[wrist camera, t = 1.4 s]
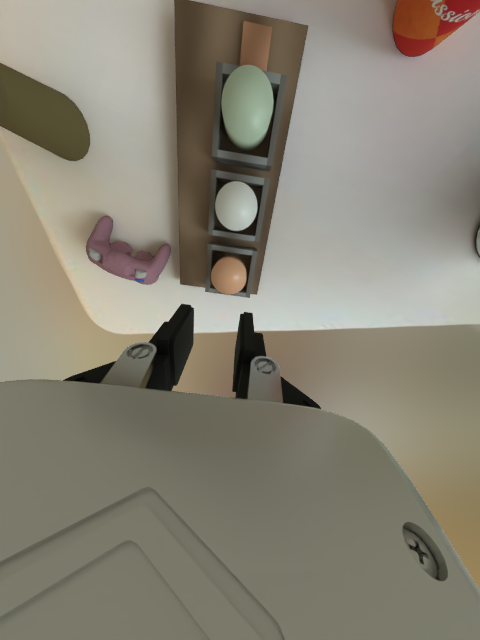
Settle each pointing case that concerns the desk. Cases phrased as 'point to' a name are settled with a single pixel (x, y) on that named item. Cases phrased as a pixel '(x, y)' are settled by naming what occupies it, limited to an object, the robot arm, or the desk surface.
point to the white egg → (236, 206)
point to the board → (212, 140)
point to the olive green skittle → (42, 115)
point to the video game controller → (124, 256)
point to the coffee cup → (429, 22)
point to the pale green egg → (247, 106)
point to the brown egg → (229, 275)
